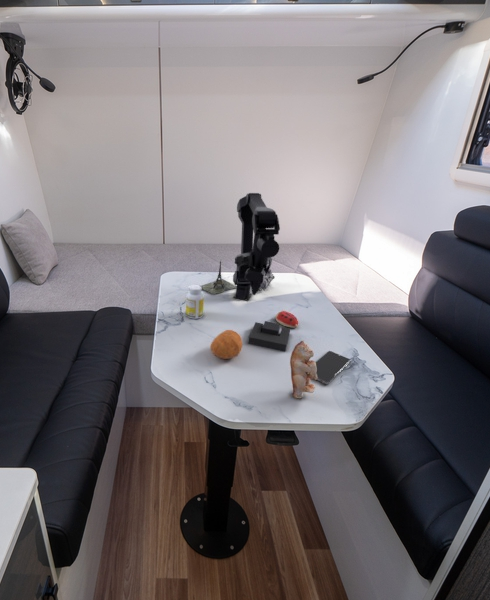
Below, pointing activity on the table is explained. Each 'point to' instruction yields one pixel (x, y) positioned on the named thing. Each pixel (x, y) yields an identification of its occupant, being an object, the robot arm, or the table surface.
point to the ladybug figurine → (287, 319)
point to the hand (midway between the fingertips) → (256, 289)
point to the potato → (227, 344)
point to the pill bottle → (194, 302)
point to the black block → (271, 328)
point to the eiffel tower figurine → (218, 285)
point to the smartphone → (330, 366)
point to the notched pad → (269, 338)
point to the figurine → (302, 370)
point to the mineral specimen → (267, 280)
